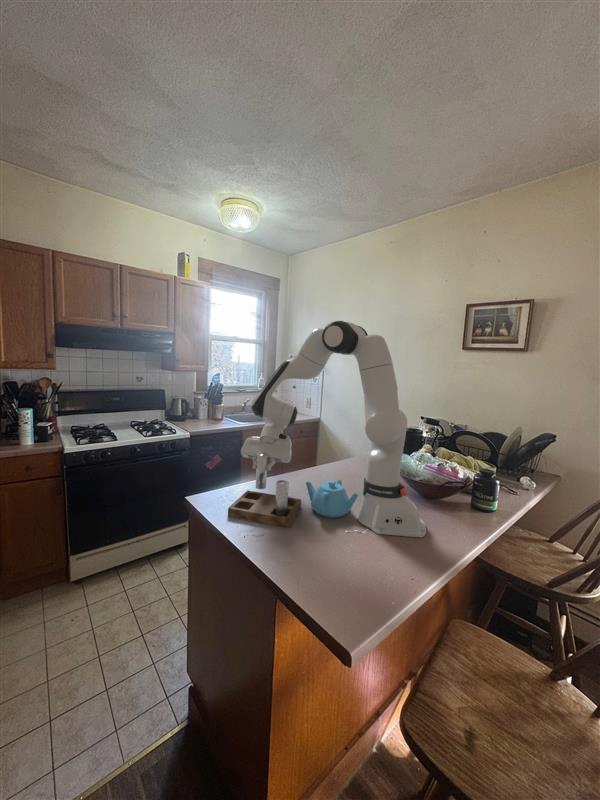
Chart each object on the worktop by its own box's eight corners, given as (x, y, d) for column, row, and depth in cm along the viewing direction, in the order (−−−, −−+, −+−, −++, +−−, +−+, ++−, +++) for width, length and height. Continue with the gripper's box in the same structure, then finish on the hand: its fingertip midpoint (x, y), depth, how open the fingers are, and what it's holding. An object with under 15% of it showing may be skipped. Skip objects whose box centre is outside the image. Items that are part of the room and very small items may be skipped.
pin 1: (267, 486, 126) (268, 453, 124) (263, 489, 122) (265, 456, 120) (258, 484, 127) (259, 452, 125) (254, 488, 123) (255, 455, 121)
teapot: (303, 502, 121) (304, 475, 120) (339, 499, 126) (341, 473, 125) (317, 522, 107) (319, 491, 106) (357, 518, 111) (360, 488, 110)
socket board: (300, 507, 117) (301, 499, 116) (288, 528, 101) (289, 519, 101) (247, 497, 122) (247, 490, 121) (227, 516, 106) (228, 508, 106)
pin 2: (287, 518, 108) (290, 481, 106) (284, 524, 104) (286, 485, 102) (276, 516, 109) (278, 479, 107) (272, 522, 105) (274, 483, 103)
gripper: (245, 431, 131) (233, 461, 123) (293, 436, 126) (284, 468, 118) (249, 440, 136) (238, 469, 128) (295, 445, 131) (287, 476, 123)
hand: (261, 468), depth 123 cm, fingers closed on pin 1, 4 cm apart
